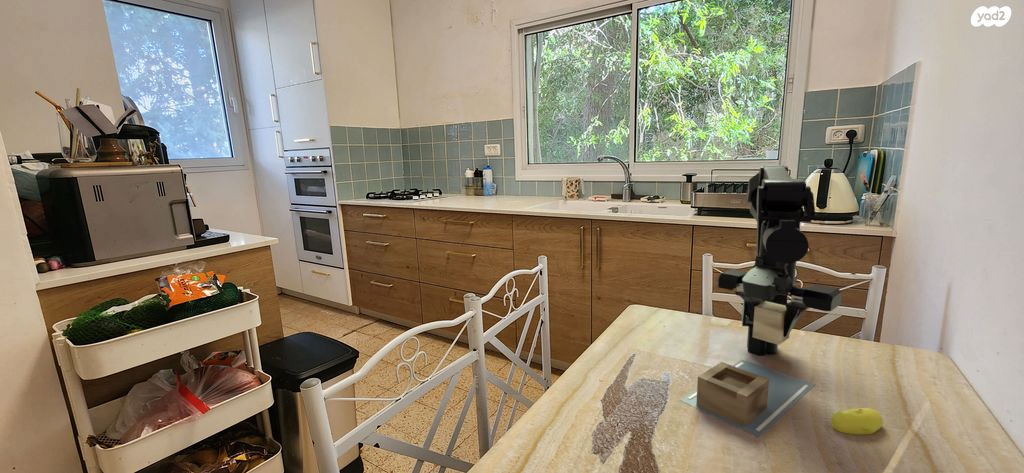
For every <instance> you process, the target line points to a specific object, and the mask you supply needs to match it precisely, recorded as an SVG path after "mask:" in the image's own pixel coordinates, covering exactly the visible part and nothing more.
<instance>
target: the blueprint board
mask: <svg viewBox="0 0 1024 473" xmlns="http://www.w3.org/2000/svg"><path fill="white" fill-rule="evenodd" d="M732 366H735V367H737V368H740V369H743V370H746V371H748V372H751V373H754V374H757V375H759V376H762V377H765V378H768V379H769V388H768V400H767V408H766V409H764V410H763V411H762V412H761V413H760V414H759V415H757V416H756V417H755V418H754V419H753V420H752V421H750V422H749V423H748V424H747V425H746V426H745V427H744V426H742V425H740V424H738V423H736V422H733V421H731V420H729V419H727V418H725V417H723V416H721V415H718V414H716V413H714V412H712V411H710V410H708V409H705V408H703V407H701V406H699V405H697V404H696V403H697V388H696V389H694V390H693V391H692V392H690V393H689V394H687V395H685V396H684V397H682V398H681V399H680V400H679V401H680V402H682V403H683V404H684V403H685V404H687V405H689V406H691V407H693V408H695V409H698V411H701V412H704V413H706V414H708V415H710V416H711V417H714V418H715V419H719V420H721V421H723V422H724V423H727V424H729V425H731V426H733V427H736V428H737V429H739V430H742V431H744V432H746V433H748V434H751V435H753V436H755V437H757V438H759V437H761V436H762V435H763V434H764V433H765V432H766V431H767V430H768V429H769V428H771V427H772V425H774V424H775V423H776V422H777V421H778V420H779V419H781V417H782V416H783V415H784V414H785V413H787V412H788V411H789V410H790V409H791V408H792V407H793V406H794V405H795V404H796V403H797V402H798V401H799V400H801V399H802V398H803V397H804V396H805V395H806V394H807V393H808V392H809V391H811V389H812V388H813V387H815V385H816V384H815V383H811V382H809V381H807V380H803V379H800V378H797V377H795V376H791V375H789V374H786V373H783V372H780V371H777V370H773V369H771V368H769V367H767V366H762V365H760V364H756V363H754V362H752V361H748V360H745V359H740V360H738V361H737V362H736V363H734V364H733V365H732Z"/></svg>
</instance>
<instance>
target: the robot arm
mask: <svg viewBox="0 0 1024 473" xmlns="http://www.w3.org/2000/svg"><path fill="white" fill-rule="evenodd" d="M746 203H749V212H750V214H751V215H752V216H753V218H754V219H755V221H756V249H755V250H756V251H755V255H756V256H755V259H754V265H753V267H752V268H751V269H749V271H748V270H747V271H745V270H741V269H735V268H731V269H728V270H726V271H723V272H721V273H720V274H718V276H717V278H716V280H717V281H716V287H717V288H719V289H722V290H723V289H724V290H728V291H733V290H735V289H736V291H735V292H734V294H735V295H736V296H737V297H740V298H741V299H742V300H743V302H742V308H741V325H742V326H741V327H748V328H747V329H748V330H747V339H746V348H747V352H748V353H749V354H752V355H756V356H759V357H762V356H773V355H777V353H778V346H779V345H777V344H774V343H770V342H767V341H764V340H760V339H757V338H754V337H753V323H754V310H755V306H757V305H759V304H761V303H763V302H765V301H767V302H772V303H776V304H780V305H785V306H786V309H787V313H786V319H785V324H784V337H787V336H788V335H789V333H791V331H792V330H793V328H794V326H795V325H796V323H797V321H798V320H799V318H800V317H801V315H802V313H803V312H805V311H807V310H810V309H814V310H818V311H822V312H832V311H833V310H835V309H836V308H838V307H840V305H842V298H843V293H842V292H841V290H840V289H839V288H838V287H834V286H828V285H823V284H817V283H816V284H813V285H811V286H809V287H807V288H806V287H802V286H801V287H800V286H797V285H796V286H795V284H797V281H798V277H796V268H797V262H798V261H801V260H802V259H803V258H804V257H805V256H806V254H807V253H808V251H809V246H810V245H809V244H810V243H809V242H808V238H807V237H806V235H805V234H804V232H802V231H801V223H812V219H813V218H814V217H815V214H816V207H815V198H814V193H813V191H812V188H811V186H810V185H808V186H807V182H806V180H804V179H802V178H792V177H791V175H790V174H789V166H788V165H784V164H774V165H773V164H769V165H768V164H766V165H765V164H764V165H763V166H759V171H758V173H756V174H754V175H753V176H752V177H751V178H749V179H748V185H747V193H746ZM788 296H789V297H791V301H790V302H788ZM789 336H790V335H789Z"/></svg>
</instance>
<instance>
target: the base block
mask: <svg viewBox="0 0 1024 473" xmlns="http://www.w3.org/2000/svg"><path fill="white" fill-rule="evenodd" d="M696 384H697V385H696V387H697V388H696V389H697V403H696V404H697V405H699V406H701V407H703V408H705V409H708V410H710V411H712V412H714V413H716V414H718V415H721V416H723V417H725V418H727V419H729V420H731V421H733V422H736V423H738V424H740V425H742V426H744V427H745V426H746V425H747V424H748V423H749V422H750V421H752V420H753V419H754V418H755V417H756V416H757V415H759V414H760V413H761V412H762V411H763V410H764V409H766V408H767V400H768V388H769V379H768V378H765V377H762V376H759V375H757V374H754V373H751V372H748V371H746V370H743V369H740V368H737V367H735V366H733V365H731V364H729V363H726V362H724V361H721V362H718V363H717V364H716V365H714V366H712V367H711V368H709V369H708V370H706V371H705V372H703V373H701V374H700V375H698V376H697V383H696Z"/></svg>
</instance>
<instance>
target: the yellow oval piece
mask: <svg viewBox="0 0 1024 473" xmlns="http://www.w3.org/2000/svg"><path fill="white" fill-rule="evenodd" d="M883 422H884V420H883V417H882V416H881V414H880V413H879V412H877V411H876V410H874V409H872V408H868V407H864V408H863V407H862V408H849V409H845V410H844V409H843V410H838V411H835V413H833V414H832V416H831V426H832V427H833V429H834V430H835V431H838V432H840V433H843V434H850V435H852V434H853V435H872V434H875V433H876V432H877V431H879V430H880V429H881V428H882V427H883V424H884V423H883Z"/></svg>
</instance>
